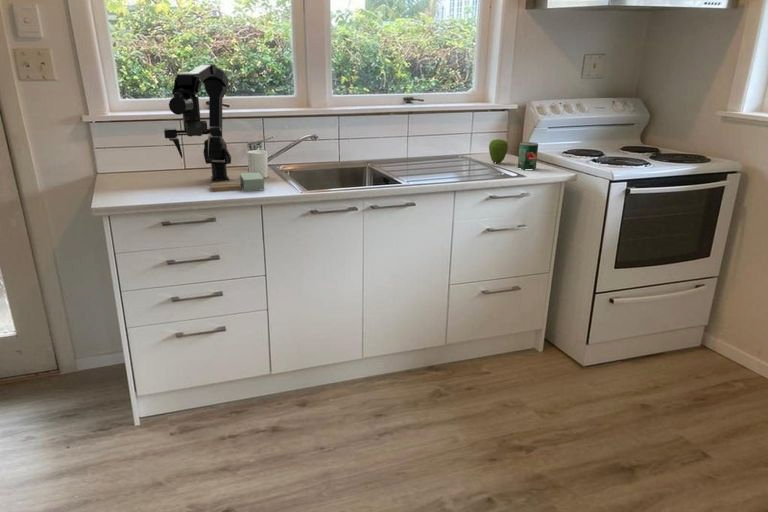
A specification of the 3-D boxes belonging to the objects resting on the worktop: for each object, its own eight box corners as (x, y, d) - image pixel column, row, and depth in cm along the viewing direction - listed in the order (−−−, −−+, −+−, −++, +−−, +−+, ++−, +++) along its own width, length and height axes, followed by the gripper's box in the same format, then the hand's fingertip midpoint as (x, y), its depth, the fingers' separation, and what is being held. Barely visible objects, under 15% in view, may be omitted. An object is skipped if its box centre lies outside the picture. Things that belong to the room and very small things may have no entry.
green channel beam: (240, 184, 220) (239, 173, 218) (259, 183, 222) (258, 172, 221) (244, 191, 209) (243, 179, 208) (264, 189, 211) (263, 178, 210)
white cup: (247, 175, 235) (245, 150, 232) (266, 174, 238) (265, 149, 235) (250, 179, 228) (248, 153, 225) (270, 178, 231) (269, 152, 228)
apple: (506, 165, 263) (508, 139, 259) (487, 164, 265) (489, 138, 261) (507, 162, 271) (509, 137, 267) (488, 161, 273) (490, 136, 269)
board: (210, 188, 214) (210, 183, 214) (238, 187, 217) (238, 181, 217) (212, 192, 208) (211, 187, 207) (240, 191, 211) (240, 185, 211)
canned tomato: (532, 171, 251) (535, 145, 248) (515, 169, 255) (517, 143, 251) (538, 168, 258) (540, 143, 254) (520, 166, 262) (522, 141, 258)
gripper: (162, 115, 189) (168, 163, 195) (222, 113, 196) (225, 159, 201) (161, 111, 199) (167, 157, 204) (218, 109, 205) (221, 154, 211)
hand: (195, 157), depth 205 cm, fingers open, 9 cm apart
